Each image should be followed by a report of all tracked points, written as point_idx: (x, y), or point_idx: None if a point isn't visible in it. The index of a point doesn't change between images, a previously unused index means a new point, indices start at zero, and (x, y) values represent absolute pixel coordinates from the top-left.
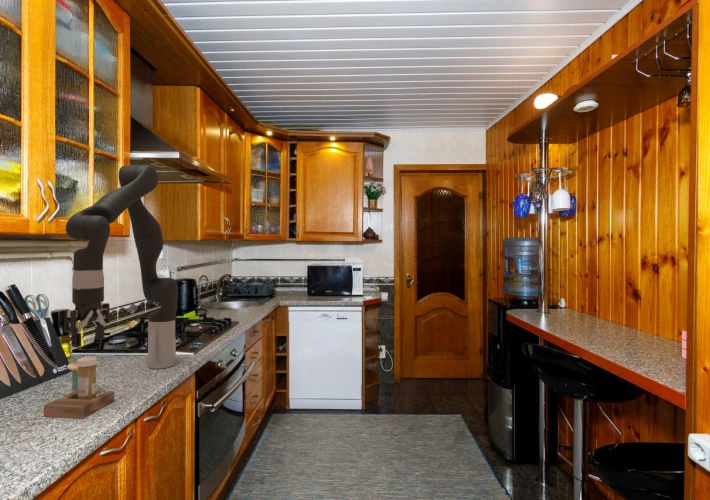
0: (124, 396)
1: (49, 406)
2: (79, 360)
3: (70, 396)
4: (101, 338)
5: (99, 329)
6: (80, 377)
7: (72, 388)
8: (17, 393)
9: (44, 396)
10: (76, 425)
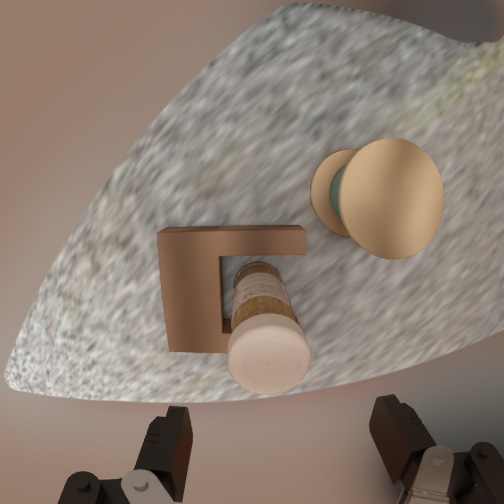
0: (334, 333)
1: (158, 251)
2: (231, 353)
3: (237, 254)
4: (370, 430)
5: (395, 461)
6: (232, 322)
7: (335, 174)
8: (312, 9)
9: (307, 94)
10: (144, 347)
